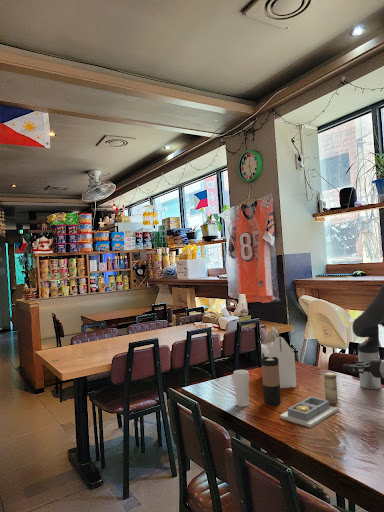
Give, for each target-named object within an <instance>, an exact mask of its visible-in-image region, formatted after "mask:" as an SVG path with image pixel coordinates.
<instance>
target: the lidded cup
mask: <svg viewBox="0 0 384 512" xmlns="http://www.w3.org/2000/svg"><path fill="white" fill-rule="evenodd" d="M323 378H324V380H323V381H324V391H325V392H324V395H325V396H324V397H325V400H327V401H329V405H334V404H337V403H338V402H339V401H338V388H337V387H338V384H337V374H336V373H333V372H325V373H324V374H323Z"/></svg>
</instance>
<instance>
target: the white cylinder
mask: <svg viewBox="0 0 384 512" xmlns="http://www.w3.org/2000/svg"><path fill="white" fill-rule="evenodd" d="M233 385H234V391H235V398H236V405H237V407H240V408H245V407H248V406H249V404H250V401H249V399H250V397H249V395H250V393H249V391H250V388H249V387H250V375H249V370H246V369H237V370H234V371H233Z"/></svg>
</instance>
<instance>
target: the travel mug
mask: <svg viewBox="0 0 384 512" xmlns="http://www.w3.org/2000/svg"><path fill="white" fill-rule="evenodd" d="M261 379H262V391H263V400H264V402H263V403H264V404H265V405H267V406H269V407H276V406H280V405H281V403H282V402H281V399H282V398H281V388H280V376H279V362H278V358H277V357H273V358H269V357H263V358H262V357H261Z"/></svg>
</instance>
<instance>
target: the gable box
mask: <svg viewBox="0 0 384 512" xmlns="http://www.w3.org/2000/svg"><path fill="white" fill-rule="evenodd" d="M269 329H270V331H269V332H268V333H267V335H266V337H265V338H264V340H263V342H262V343H261V344H260V349H261V359H262V358H263V357H269V358H273V357H277V358H278V362H279V376H280V389H288V388H290V389H291V387H292V388H297V374H296V360H295V359H296V358H295V357H296V356H295V352H294V350H293V349H292V348H291V346H290V345H289V344H288V342H287V341H286V340H285V338H284V337H282V336H280V331H279V329H278V328H276V327H275V326H273V325H272V327H271V328H269Z"/></svg>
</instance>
